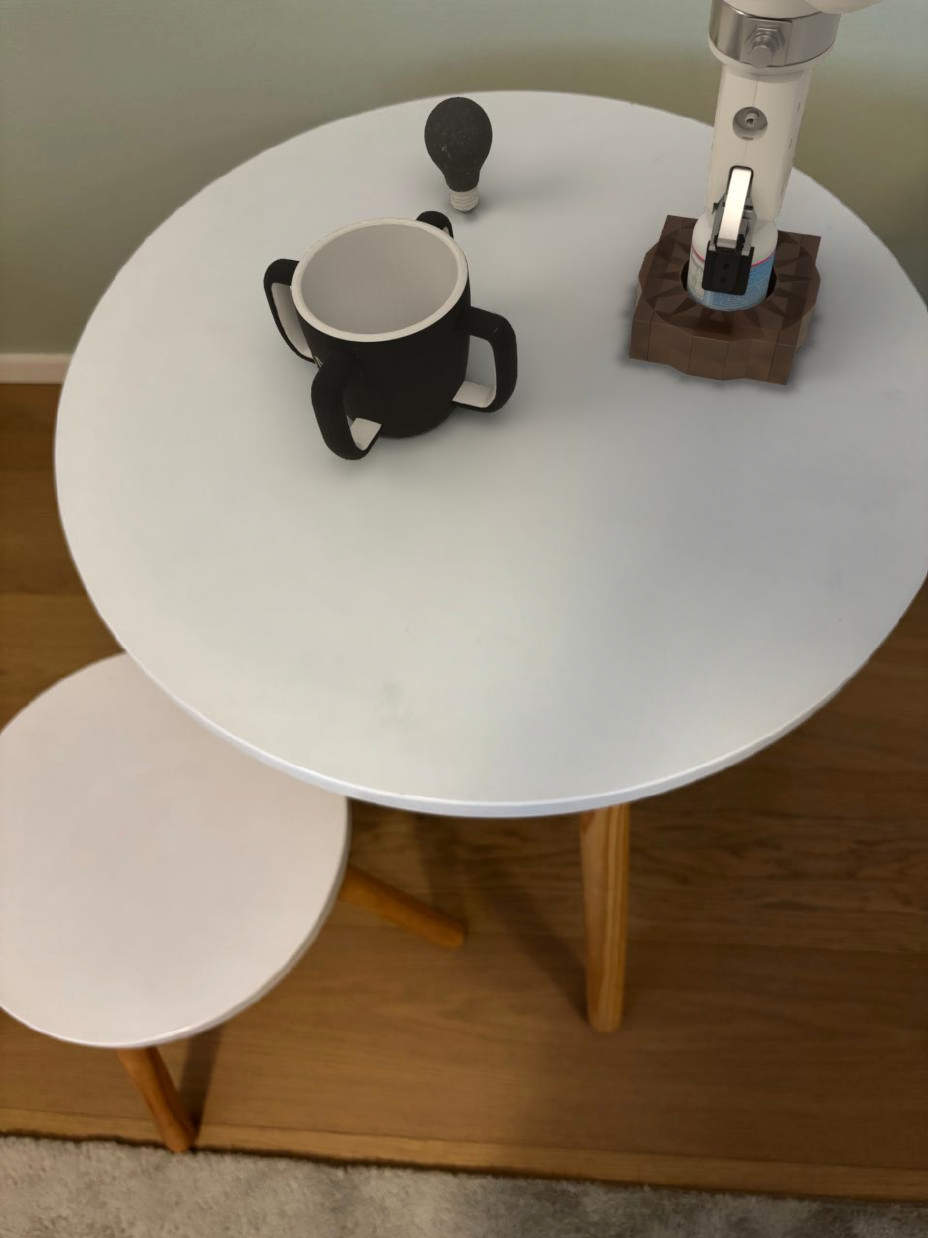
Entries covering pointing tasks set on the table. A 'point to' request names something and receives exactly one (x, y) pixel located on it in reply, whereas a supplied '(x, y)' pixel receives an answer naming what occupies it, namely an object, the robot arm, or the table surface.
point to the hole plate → (723, 312)
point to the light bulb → (459, 147)
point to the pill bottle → (759, 271)
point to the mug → (388, 330)
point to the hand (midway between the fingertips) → (732, 256)
